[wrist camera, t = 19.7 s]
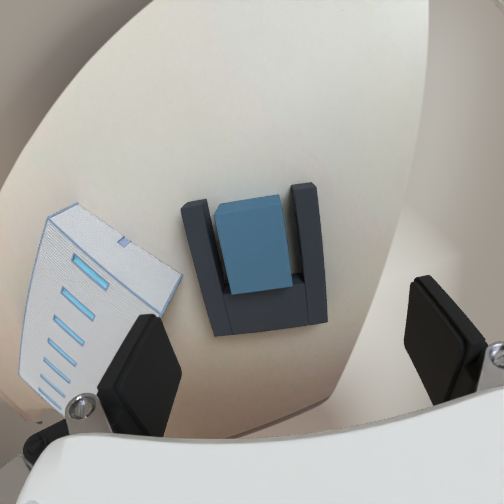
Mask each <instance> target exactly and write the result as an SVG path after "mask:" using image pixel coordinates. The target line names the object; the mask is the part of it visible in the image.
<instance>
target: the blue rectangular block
mask: <svg viewBox="0 0 504 504" xmlns="http://www.w3.org/2000/svg"><path fill="white" fill-rule="evenodd" d="M214 218H215V223H216V227H217V232H218V236H219V241H220V246H221V250H222V255H223V259H224V263H225V268H226V272H227V277H228V281H229V285H230V290H231V294H232V295H233V294H241V293H249V292H256V291H264V290H271V289H278V288H285V287H292V286H293V284H292V276H291V268H290V261H289V253H288V246H287V238H286V231H285V224H284V217H283V211H282V204H281V200H280V197H279V195H272V196H266V197H259V198H253V199H247V200H241V201H235V202H229V203H223V204H220V205H219V207H218V209H217V211H216V212H215V214H214Z"/></svg>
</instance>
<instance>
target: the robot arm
mask: <svg viewBox="0 0 504 504" xmlns="http://www.w3.org/2000/svg"><path fill="white" fill-rule="evenodd" d="M404 346H405V349H406V350H407V353H408V354H409V356H410V358H411V360H412V362H413V364H414V366H415V368H416V370H417V372H418V374H419V376H420V378H421V381H422V383H423V385H424V387H425V389H426V391H427V393H428V395H429V397H430V400H431V402H432V404H433V406H432V407H429V408H425V409H421V410H418V411H414V412H411V413H408V414H403V415H400V416H396V417H392V418H388V419H384V420H379V421H375V422H370V423H366V424H361V425H356V426H351V427H345V428H340V429H333V430H327V431H320V432H313V433H306V434H297V435H288V436H276V437H264V438H245V439H244V438H243V439H186V438H167V437H163V435H164V432H165V429H166V425H167V422H168V419H169V415H170V412H171V409H172V405H173V402H174V399H175V396H176V392H177V389H178V386H179V383H180V380H181V376H182V371H181V367H180V365H179V362H178V360H177V358H176V355H175V353H174V351H173V348H172V346H171V343H170V341H169V339H168V336H167V334H166V331H165V328H164V326H163V323H162V321H161V319H160V317H156V315H155V314H141V315H139V316H138V318H137V319H136V321H135V322H134V324H133V326H132V327H131V329H130V331H129V332H128V334H127V336H126V337H125V339H124V341H123V342H122V344H121V346H120V347H119V349H118V351H117V353H116V354H115V356H114V358H113V359H112V361H111V363H110V365H109V366H108V368H107V370H106V372H105V373H104V375H103V377H102V379H101V381H100V382H99V384H98V386H97V389H98V392H97V394H96V395H95V394H93V393H82V394H79V395H77V396H75V397H74V398H73V399H71V400H70V401H69V403H68V404H67V406H66V408H65V419H63V420H61V421H60V422H58V423H56V424H54V425H52V426H50V427H48V428H46V429H44V430H42V431H40V432H38V433H36V434H34V435H32V436H30V437H29V438H28V439H27V441H26V442H25V444H24V447H23V455H21V454H18V455H16V456H15V457H14V458H13V459H12V460H10V461H9V462H8V463H7V464H6V465H4V466H3V467H2V468H1V469H0V504H504V342H501V341H500V342H494V343H492V344H490V345H489V346H488V344H487V343H486V342H485V338H484V337H483V336H482V334H481V333H480V332H479V331H478V329H477V328H476V327H475V326H474V324H473V323H472V322H471V321H470V320H469V318H467V316H466V315H465V314H464V313H463V312H462V310H461V309H460V308H459V307H458V306H457V304H456V303H455V302H454V301H453V300H452V299H451V298H450V297H449V295H448V294H447V293H446V292H445V291H444V290H443V289H442V288H441V286H440V285H439V284H438V283H437V282H436V281H435V280H434V279H433V278H432V277H431V276H430V275H426V276H421V277H416V278H415V279H414V282H412V283H411V284H410V292H409V303H408V311H407V320H406V328H405V335H404Z"/></svg>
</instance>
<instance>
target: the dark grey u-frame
mask: <svg viewBox="0 0 504 504" xmlns="http://www.w3.org/2000/svg"><path fill="white" fill-rule="evenodd" d="M291 189H292V196H293V203H294V211H295V218H296V226H297V234H298V242H299V250H300V258H301V267H302V273H295V274H291V276H292V284H293V286H292V287H285V288H278V289H271V290H264V291H256V292H249V293H241V294H233V295H232V294H231V290H230V285H229V283H226V284H225V280H224V275H223V271H222V267H221V262H220V258H219V254H218V249H217V245H216V240H215V236H214V231H213V227H212V222H211V218H210V213H209V208H208V204H207V199H203V200H197V201H192V202H187V203H186V204H185V205H184V206H183V207H182V208H181V214H182V218H183V222H184V226H185V230H186V234H187V238H188V242H189V246H190V250H191V254H192V258H193V262H194V266H195V269H196V273H197V277H198V280H199V284H200V288H201V291H202V295H203V299H204V302H205V306H206V309H207V313H208V316H209V319H210V323H211V326H212V330H213V333H214V336H225V335H235V334H244V333H253V332H262V331H270V330H278V329H285V328H293V327H300V326H307V325H314V324H320V323H326V322H328V316H327V298H326V282H325V269H324V256H323V245H322V234H321V224H320V214H319V205H318V197H317V188H316V186H315V185H314V184H313V183H312V182H310V183H303V184H295V185H291Z"/></svg>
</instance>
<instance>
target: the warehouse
mask: <svg viewBox="0 0 504 504" xmlns="http://www.w3.org/2000/svg"><path fill="white" fill-rule="evenodd" d="M182 276H183V275H182V274H181V275H180V274H179V273H177V272H176V271H174V270H173V269H171V268H170V267H168V266H167V265H165V264H164V263H162V262H161V261H159V260H158V259H156V258H155V257H153V256H152V255H150V254H149V253H147V252H146V251H144V250H143V249H141V248H140V247H138V246H137V245H135V244H134V243H133V242H131V241H130V242H129V241H128V240H126V239H125V238H124V236H122V235H121V234H120V233H118V232H117V231H115V230H114V229H112V228H111V227H110V226H108V225H107V224H105V223H104V222H103V221H101V220H100V219H98V218H97V217H96V216H94V215H93V214H91V213H90V212H89V211H87V210H86V209H85V208H83V207H82V206H80V205H79V203H78V202H77V203H75V204H73V205H71V206H69V207H67V208H65V209H63V210H61V211H59V212H57V213H55V214H53V215H51V216H49V217H47V220H46V223H45V227H44V230H43V233H42V237H41V240H40V244H39V248H38V252H37V256H36V260H35V264H34V268H33V272H32V277H31V281H30V286H29V291H28V297H27V302H26V308H25V315H24V321H23V329H22V337H21V346H20V357H19V372H18V375H19V376H20V377H21V378H22V379H23V380H24V381H25V382H26V383H27V384H28V385H29V386H30V387H31V388H32V389H33V390H34V391H35V392H36V393H37V394H38V395H40V396H41V397H42V398H43V399H44V400H45V401H46V402H47V403H48V404H50V405H51V406H52V407H53V408H54V409H55V410H57V411H58V412H59V413H60V414H61V415H62V416H64V417H65V408H66V406H67V404H68V403H69V401H70V400H71V399H73V398H74V397H75V396H77V395H79V394H82V393H93V394H95V395H96V394H97V392H98V389H97V386H98V384H99V382H100V381H101V379H102V377H103V375H104V373H105V372H106V370H107V368H108V366H109V365H110V363H111V361H112V359H113V358H114V356H115V354H116V353H117V351H118V349H119V347H120V346H121V344H122V342H123V341H124V339H125V337H126V336H127V334H128V332H129V331H130V329H131V327H132V326H133V324H134V322H135V321H136V319H137V318H138V316H139V315H141V314H155V315H156V317H160V318H161V316H162V315H163V313H164V311H165V309H166V307H167V305H168V303H169V301H170V299H171V297H172V295H173V293H174V291H175V289H176V287H177V286H178V284H179V282H180V280H181V278H182Z"/></svg>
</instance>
